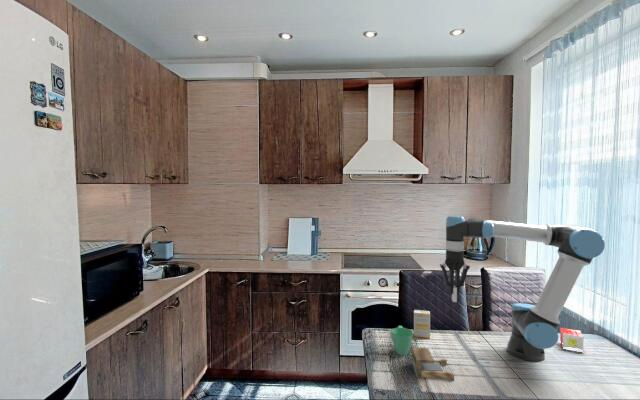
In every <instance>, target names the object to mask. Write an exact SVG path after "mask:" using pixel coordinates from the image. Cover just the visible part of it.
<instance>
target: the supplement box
mask: <svg viewBox="0 0 640 400" xmlns="http://www.w3.org/2000/svg"><path fill="white" fill-rule="evenodd" d="M413 337H414V338H422V339H423V338H424V339H431V310H430V311H429V310H422V309H414V310H413Z"/></svg>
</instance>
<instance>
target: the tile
mask: <svg viewBox="0 0 640 400" xmlns="http://www.w3.org/2000/svg"><path fill="white" fill-rule="evenodd" d="M421 370H427V371H444V369H443V368H442V366H440V364H439V362H434V364H433V363H421Z"/></svg>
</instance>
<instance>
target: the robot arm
mask: <svg viewBox="0 0 640 400" xmlns="http://www.w3.org/2000/svg"><path fill="white" fill-rule="evenodd" d="M493 237H494V238H502V239H504V238H505V239H512V240H519V241H527V242H528V241H529V242H537V243H543V244H544V245H545V246H551V247H555V248H558V249H557V250H556V251H557V254H558V256H559V257H558V259H557V261H556V263H555V264H554V267H553V269H552V271H551V273H550V276H549V277H548V280H547V281H546V284H545V285H544V287H543V290H542V292H541V294H540V296H539V298H538V300H537V302H536V304H529V303H522V302H521V303H518V302H517V303H513V304H512V306H511V334H510V336H509V339H508V341H507V344H506V349H507V352H508V353H509V354H510V355H512V356H514V357H516V358H519V359H521V360H525V361H530V362H531V361H532V362H541V361H543V360H545V357H546V352H545V350H546V349H551V348H553V347H554V346H556V345H557V343H558V341H559V333H558V328H559V327H560V324H561V322H560V319H559V316H560V314H561V312H562V310H563V308H564V306H565V303H566V302H567V300H568V298H569V296H570V294H571V292H572V290H573V288H574V286H575V283H576V282H577V280H578V278H579V276H580V274H581V272H582V270H583V268H584V267H585V266H588V265H590V264H591V263H592V261H593V259H594V258H596V257H599V256H600V255H601V254H602V253H603V251H604V250H605V248H606V247H605V246H606V244H605V240H604V238H603V235H602V234H600V233H599V232H598V231H596V230H594V229H592V228H590V227H587V226H586V227H585V226H579V225H573V224H548V223H547V224H545V225H535V224H530V223H529V224H528V223H518V222H517V223H516V222H508V221H500V220H498V221H497V220H490V219H480V218H475V217H470V218H467V219H466V220H465V218H464V216H462V215H449V216H447V217H446V220H445V242H446V243H445V248H446V250H445V260H444V262H443V263H441V264H439V267H440V268H441V271H442V275H443V278H444V279H443V280H444V283H445V285H446V286H447V287H449V294H450V295H451V301H452V302H453V303H457V302H458V295H459V294H460V288H461V287H464V285H465V282H466V278H467V273H468V271H469V270H470V267H471V266H470V265H468V264H466V263H465V260H464V257H465V255H464V254H465V253H464V249H465V247H464V246H465V240H464V239H465V238H475V239H476V238H478V239H491V238H493ZM447 268H448V269H449V270H448V271H449V275H448V272H447ZM462 268H463V269H462ZM461 269H462V273H461ZM460 273H461V274H460ZM454 275H455V276H454ZM448 276H449V277H448ZM454 283H455V284H454Z"/></svg>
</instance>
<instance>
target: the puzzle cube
mask: <svg viewBox="0 0 640 400" xmlns="http://www.w3.org/2000/svg"><path fill="white" fill-rule="evenodd" d="M559 329H560V330H559V331H560V332H559V333H560V334H559V335H560V337H559V342H560V341H561V344H562V343H563V344H562V346H563V347H572V348H579V349H581V350H583V351H584V340H585V337H584V335H583V333H582V331H581V330H579V329H572V328H566V327H560V328H559ZM561 344H560V345H561ZM562 346H561V347H562Z"/></svg>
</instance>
